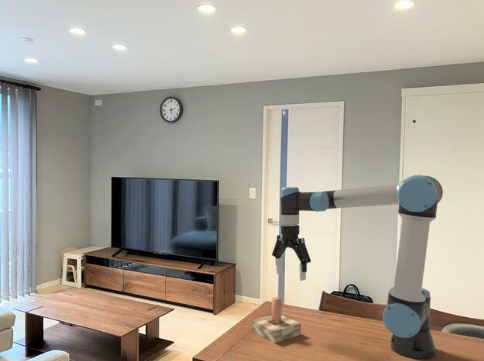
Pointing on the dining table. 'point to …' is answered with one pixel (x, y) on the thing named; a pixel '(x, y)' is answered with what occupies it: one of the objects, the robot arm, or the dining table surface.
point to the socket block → (276, 328)
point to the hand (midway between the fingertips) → (290, 276)
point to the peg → (276, 310)
